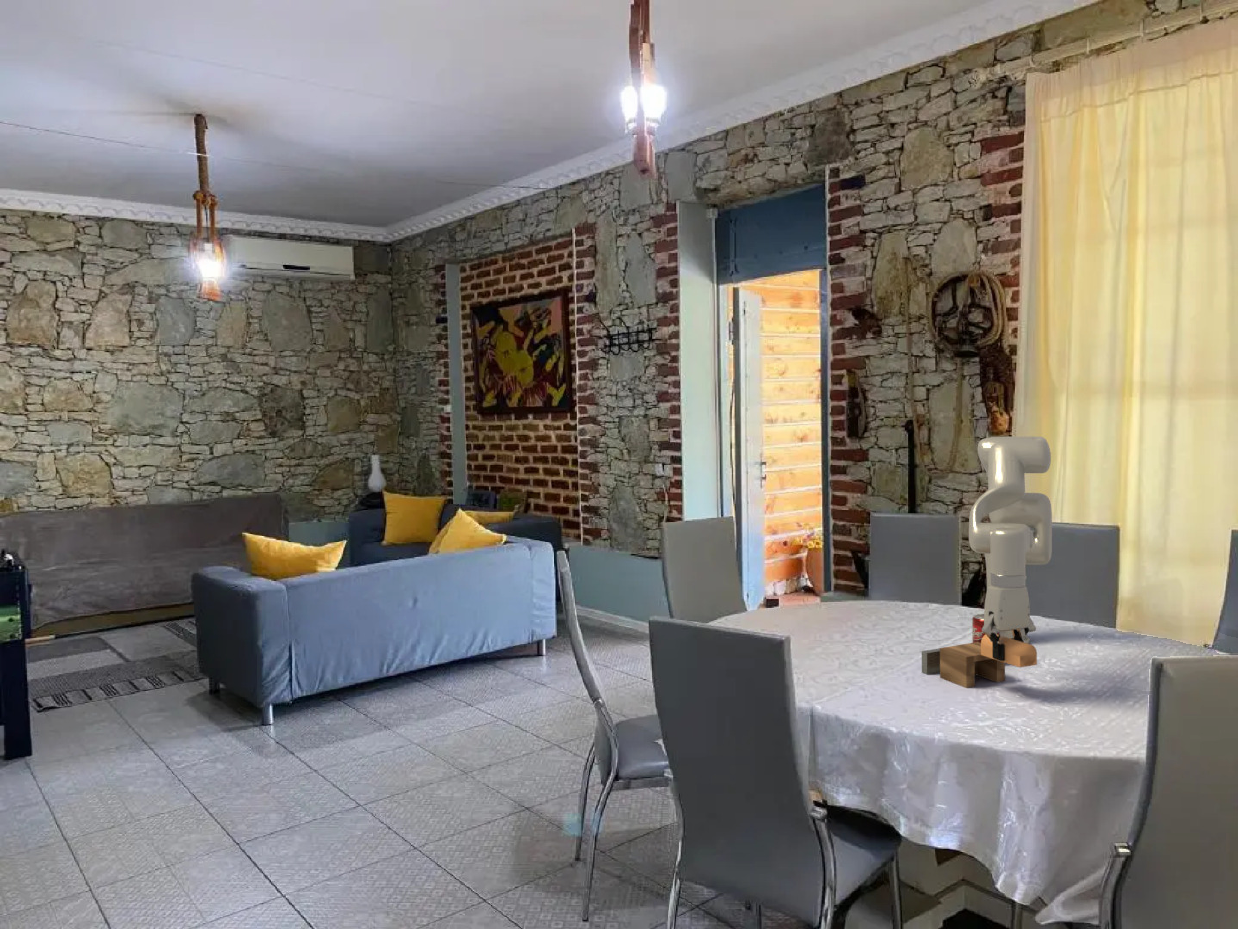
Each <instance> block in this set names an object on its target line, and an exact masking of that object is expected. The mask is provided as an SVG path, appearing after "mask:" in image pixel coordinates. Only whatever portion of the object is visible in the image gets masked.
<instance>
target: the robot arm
mask: <svg viewBox="0 0 1238 929" xmlns="http://www.w3.org/2000/svg"><path fill="white" fill-rule="evenodd" d="M977 455H978V458H979V461H980V463H981V465H982V466H983V469H984V470H985V473H986V476H987V480H988V481H987V483H988V484H987V485H988V486H987V487H988V489H987V490H986V491H985V492H983V493H982V494H981V495H980V496H979V497H978V499H976V500H975V502H974V504H973V505H972V507H971V509H970V512H969V516H968V517H969V518H968V519H969V520H968V542H969V546H970V548H971V550H972V551H974V552H975V553H976V554H984V558H985V568H986V570H985V571H986V593H985V600H984V612H983V614H984V626H983V628H982V632H984V633H985V634H986V635H987V636H988V637H989V639H990V641H991V642H992V652H993V658H994V659H997V660H1000V661H1004V660H1005V644H1003V638H1004V637H1007V638H1010V639H1013V640H1017V641H1020V642H1024V643H1027V644H1030V642H1031V641H1030V640H1031V639H1030V637H1029V636H1028V634H1029V633H1032V632H1035V631H1036V630H1037V627H1036V625H1035V624H1034V621H1033V620H1032V618H1031V610H1030V608H1031V607H1030V598H1029V591H1028V587H1027V586H1026V580H1027V579H1028V576H1027V574H1026V566H1027V565H1029V566H1030V565H1031V566H1032V565H1033V566H1038V565H1039V566H1043V565H1047V564H1048V563H1049V562H1050V561H1051V558H1052V552H1053V540H1052V539H1053V516H1052V515H1053V513H1052V509H1053V508H1052V504H1051V500H1050V498H1049V497H1048V496H1047V495H1046V494H1044V493H1042V492H1041V493H1040V492H1026V482H1025V481H1026V480H1025V478H1026V477H1025V475H1026V474H1045V473H1047V472H1048V471H1049V469H1050V468H1051V467H1050V466H1051V463H1052V462H1051V461H1052V460H1051V459H1052V456H1051V455H1052V453H1051V448H1050V445H1049V443H1048V441H1047V439H1046V438H1045V437H1043V436H992V437H986V438H982V439H981V440H979V442H978V444H977ZM986 516H988V517H989V520H990V522H982V519H983V518H985V517H986ZM1031 529H1032V530H1031ZM991 628H992V630H991ZM997 632H999V635H998V636H997Z"/></svg>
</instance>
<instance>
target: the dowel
mask: <svg viewBox="0 0 1238 929" xmlns="http://www.w3.org/2000/svg"><path fill="white" fill-rule="evenodd" d="M997 636H998V635H997ZM1003 644H1005V660H1004V661H1001V662H1005V664H1008V665H1010V666H1011V665H1012V666H1014V667H1018V668H1025V667H1026V668H1027V667H1030V666H1036V665H1038V660H1037V659H1038V655H1037V654H1038V652H1037V649H1036V647H1035V646H1034V645H1033V644H1030V643H1028V644H1027V643H1024V642H1020V641H1017V640H1013V639H1010V638H1007V637H1004V638H1003ZM981 655H983V656H986V657H989V658H992V659H994V658H993V652H992V642H991V641H990V639H989V637H988V636H987V635H986V634H985V635H984V636H983V638H982V640H981ZM995 660H997V659H995ZM998 661H1000V660H998Z"/></svg>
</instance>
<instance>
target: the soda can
mask: <svg viewBox="0 0 1238 929" xmlns="http://www.w3.org/2000/svg"><path fill="white" fill-rule="evenodd" d="M971 619H972V621H971V622H972V624H971V625H972V632H971V633H972V643H974V642H979V643H981V640H982V638H983V636H984V635H985V633H984V632H982V628H983V626H984V613H977V614H974V616H972V618H971ZM991 630H992V628H991ZM997 635H999V632H997Z"/></svg>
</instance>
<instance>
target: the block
mask: <svg viewBox="0 0 1238 929" xmlns="http://www.w3.org/2000/svg"><path fill="white" fill-rule="evenodd" d="M939 648H940V672H939V678H940V679H942V680H944V681H945V680H946V681H948V682H950V683H953V684H955V685H959V686H960V687H963V688H966V689H969V688H972V687H975V684H976V683H975V676H980V677H981V678H984V679H987V680H990V681H992V682H996V683H1000V682H1005V681H1006V663H1005V662H1001V661H998V660H995V659H992V658H989V657H986V656H983V655H981V643H979V642H974V643H973V642H971V643H970V642H969V643H964V644H956V645H951V646H945V647H939Z"/></svg>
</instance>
